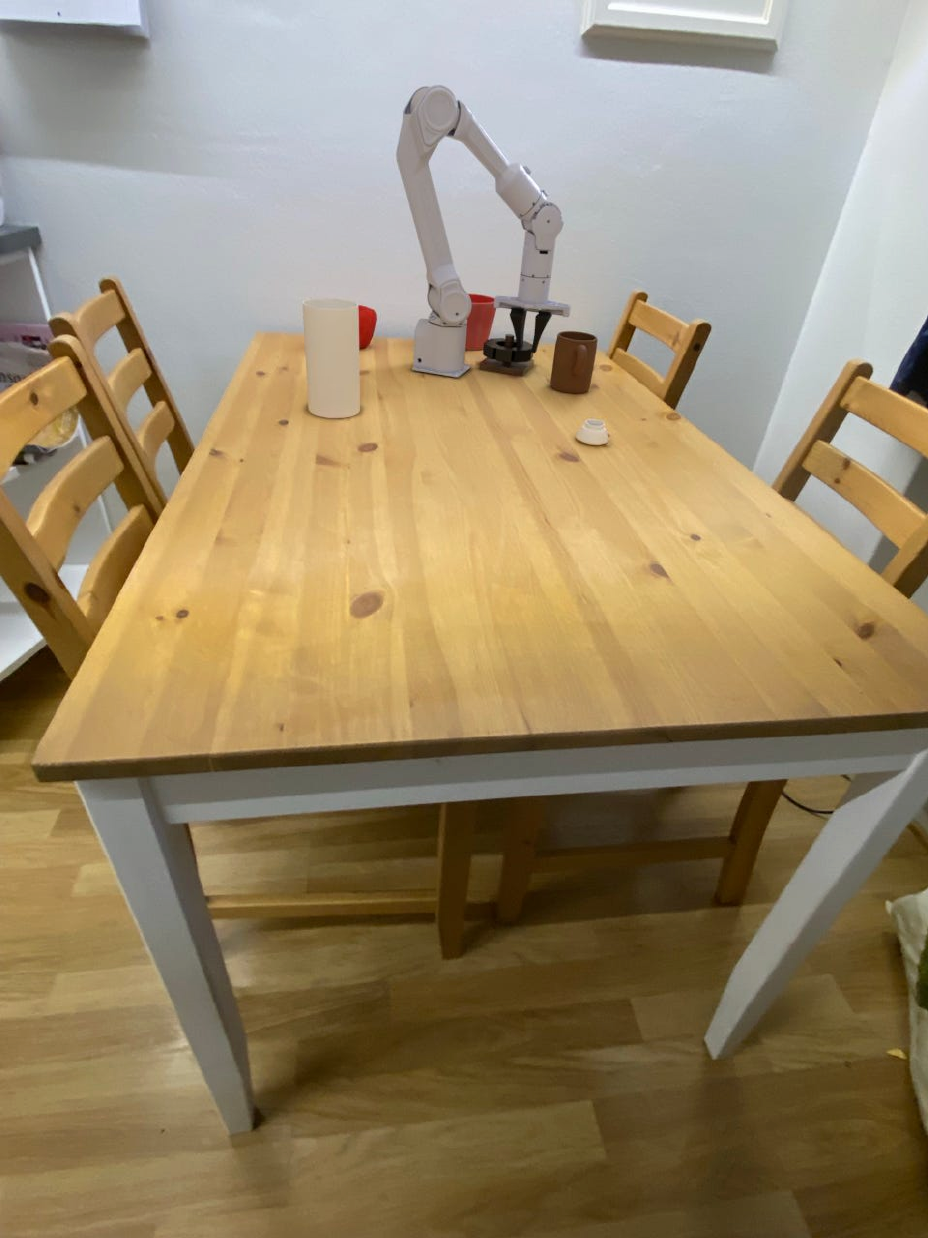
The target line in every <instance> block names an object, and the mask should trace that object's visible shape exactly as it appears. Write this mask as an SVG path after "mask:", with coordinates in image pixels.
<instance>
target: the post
mask: <svg viewBox="0 0 928 1238" xmlns="http://www.w3.org/2000/svg"><path fill="white" fill-rule="evenodd" d="M504 337H505V338H504V339H505V345H504V347H508V348H513V346H514V339H515V338H516V336H515V334H510V333H507V334H505V335H504ZM534 365H535V359H533V358H532V359H531V360H530V361H528V362H518V363H514V362H511V363H510V362H503V361H496V360H495V359H490V358H488V357H485V358H484V359H482V361H480V362H479V365H478V370H481V371H487V372H492V373H498V374H504V375H505V374H506V375H512V376H518V377H524V376H525V375H526V374H527V373H528V372H529V370H531V368H533V367H534Z"/></svg>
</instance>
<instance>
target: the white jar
mask: <svg viewBox="0 0 928 1238" xmlns="http://www.w3.org/2000/svg"><path fill="white" fill-rule="evenodd" d="M605 426H606V424H605V422H604V421H602V420H599V419H595V418H593V419H586V420H585V421H584V423H583V424H582V425H581V426H580V428H579V429H578V430H577V432H576V433H575V439H577V440H578V441H579V442H581V443H583V444H586V445H590V446H600V445H604V444H607V443H608V442H609V440H610V439H609V434H608V431H607V430H608V429H607V427H605Z"/></svg>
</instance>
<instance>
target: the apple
mask: <svg viewBox="0 0 928 1238" xmlns="http://www.w3.org/2000/svg"><path fill="white" fill-rule="evenodd" d="M358 308H359V349H366V348H368V347H369V346H370V344H371V343H372V340H373V338H374V335H375V332H376V327H377V322H378V316H377V315H378V314H377V312H376V310H375V309H373V308H371V307H369V306H366V305H362V304H358Z"/></svg>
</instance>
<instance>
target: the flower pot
mask: <svg viewBox="0 0 928 1238" xmlns="http://www.w3.org/2000/svg"><path fill="white" fill-rule="evenodd" d="M468 295H469V296H470V299H471V305H472V306H471V312H470V314H469V316H468V318H467V319H466V320H467V328H466V343H465V350H470V351H477V350H478V351H479V350H483V347H484V342H485V341H486V340H487V339H489V340H490V335H491V331H492V328H493V324H494V320H495V316H496V311H497V308H494V297H493V296H490V295H485V294H477V293H468Z"/></svg>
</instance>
